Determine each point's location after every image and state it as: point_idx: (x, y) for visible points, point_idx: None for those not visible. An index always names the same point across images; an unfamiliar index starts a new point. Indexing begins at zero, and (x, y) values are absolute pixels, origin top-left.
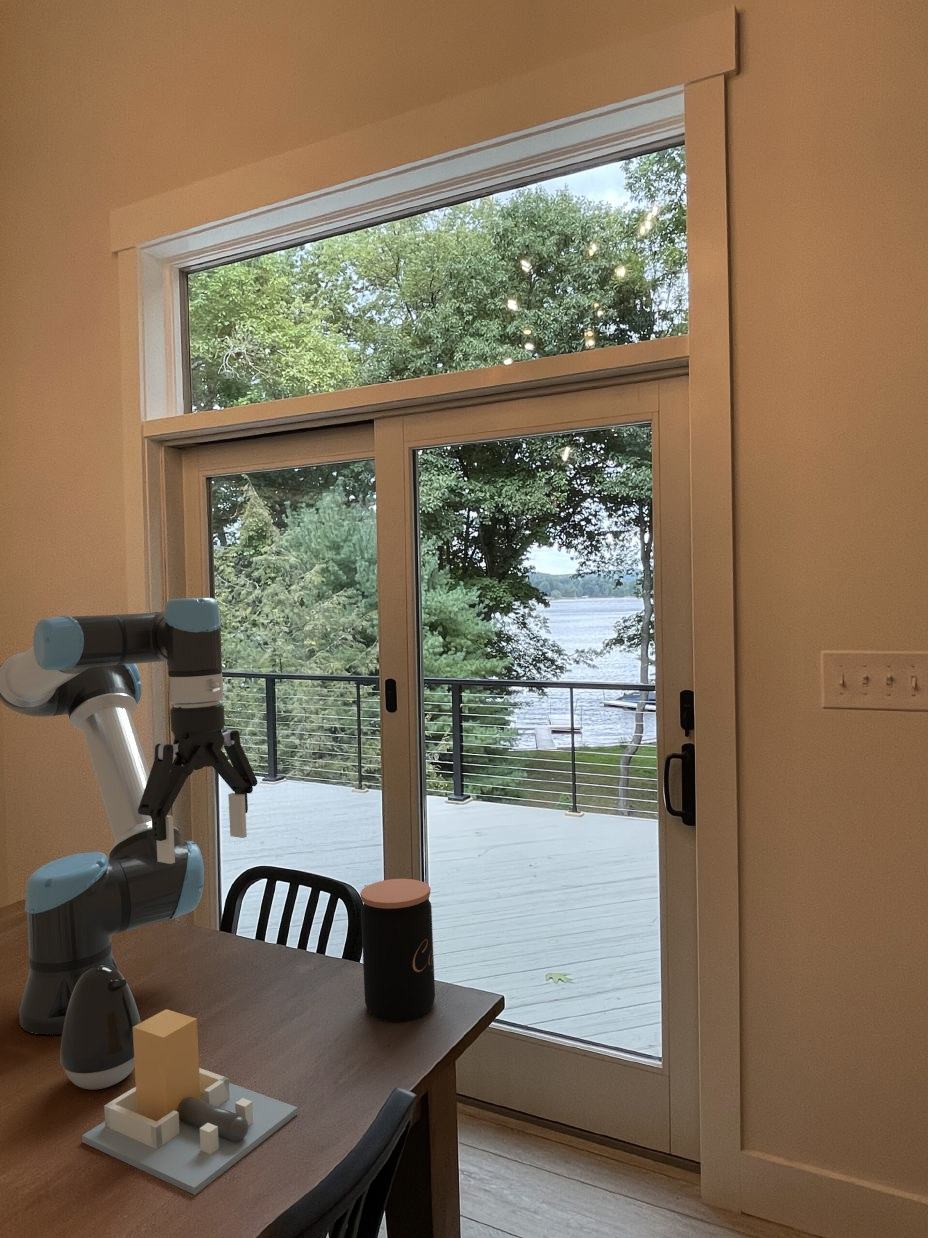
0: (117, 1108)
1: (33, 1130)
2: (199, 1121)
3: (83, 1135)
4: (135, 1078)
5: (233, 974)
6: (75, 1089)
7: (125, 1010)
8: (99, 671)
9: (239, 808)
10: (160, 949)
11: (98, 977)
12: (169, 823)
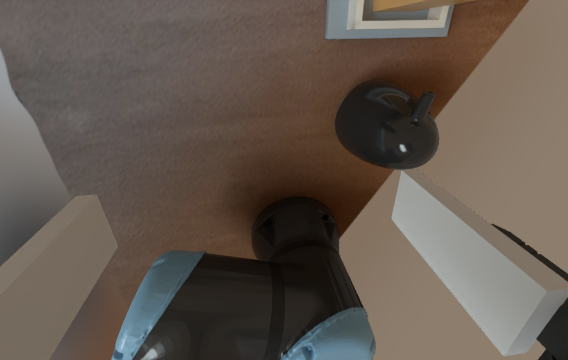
0: (445, 8)
1: (436, 94)
2: None
3: (446, 34)
4: (435, 7)
5: (154, 178)
6: None
7: (395, 96)
8: None
9: (16, 300)
10: None
11: (433, 133)
12: (535, 260)
